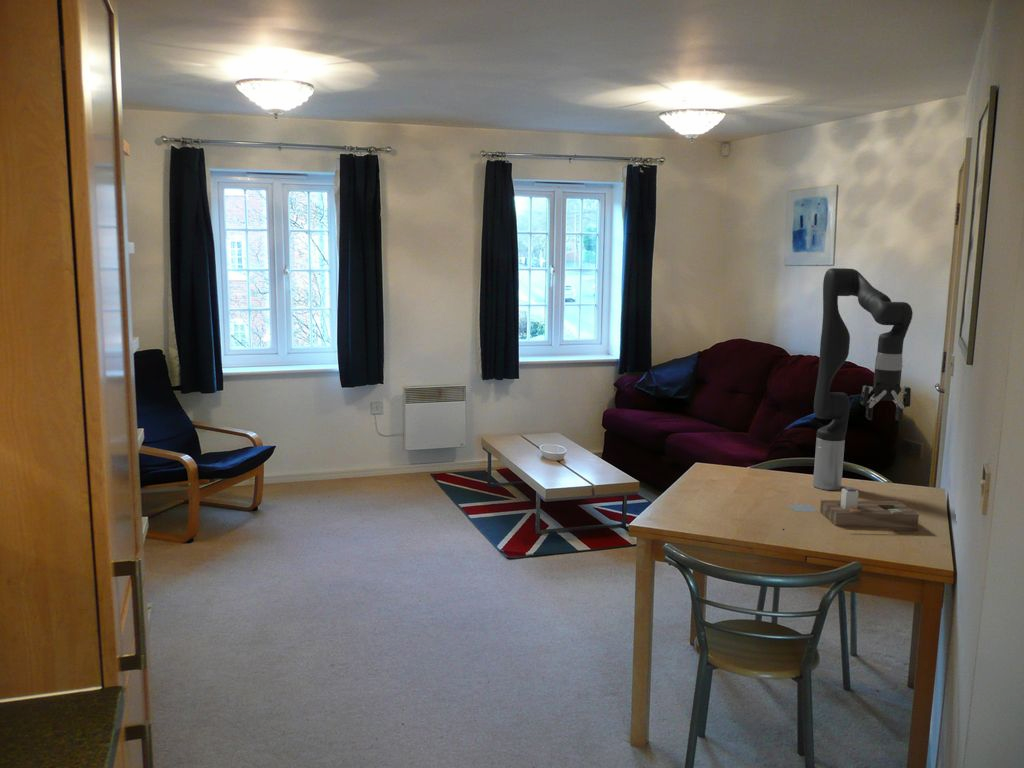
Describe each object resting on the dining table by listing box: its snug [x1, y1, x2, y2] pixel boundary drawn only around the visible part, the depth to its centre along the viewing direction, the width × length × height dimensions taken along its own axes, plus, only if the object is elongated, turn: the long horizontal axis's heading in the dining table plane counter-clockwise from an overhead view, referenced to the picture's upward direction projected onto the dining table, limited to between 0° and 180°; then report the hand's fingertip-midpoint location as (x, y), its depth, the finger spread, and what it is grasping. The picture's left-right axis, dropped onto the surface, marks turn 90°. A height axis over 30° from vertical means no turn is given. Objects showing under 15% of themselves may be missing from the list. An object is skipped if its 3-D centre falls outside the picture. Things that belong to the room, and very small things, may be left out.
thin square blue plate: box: [788, 504, 819, 513], centre depth 266 cm, size 7×7×1 cm
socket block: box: [819, 499, 920, 532], centre depth 255 cm, size 13×24×5 cm, turn 89°
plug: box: [840, 486, 859, 509], centre depth 255 cm, size 4×4×10 cm
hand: (883, 419), depth 261 cm, fingers open, 8 cm apart
